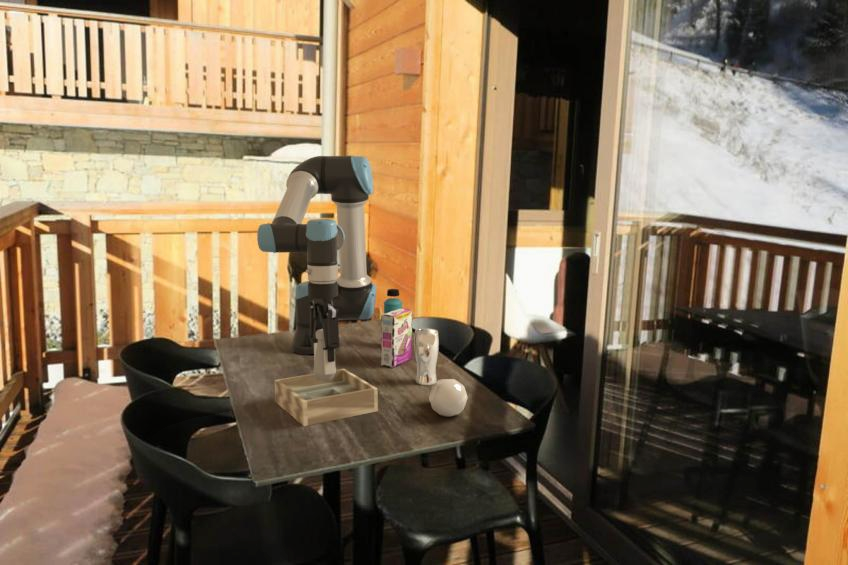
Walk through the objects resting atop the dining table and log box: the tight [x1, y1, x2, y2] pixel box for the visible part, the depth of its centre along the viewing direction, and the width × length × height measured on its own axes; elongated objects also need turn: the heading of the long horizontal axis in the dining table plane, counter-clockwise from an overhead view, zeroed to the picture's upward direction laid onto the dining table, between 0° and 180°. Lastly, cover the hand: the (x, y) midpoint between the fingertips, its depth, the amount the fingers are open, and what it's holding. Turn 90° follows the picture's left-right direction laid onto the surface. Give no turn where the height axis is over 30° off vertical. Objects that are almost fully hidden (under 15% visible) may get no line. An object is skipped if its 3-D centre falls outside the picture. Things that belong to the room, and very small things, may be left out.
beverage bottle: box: [383, 288, 403, 314], centre depth 239 cm, size 6×7×20 cm
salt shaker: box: [312, 329, 337, 381], centre depth 181 cm, size 6×6×13 cm
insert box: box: [274, 368, 379, 427], centre depth 183 cm, size 20×20×6 cm
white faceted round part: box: [428, 378, 468, 417], centre depth 180 cm, size 9×10×15 cm
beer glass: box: [413, 327, 440, 386], centre depth 203 cm, size 7×7×15 cm
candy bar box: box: [380, 308, 413, 369], centre depth 221 cm, size 11×5×16 cm, turn 150°
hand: (324, 370), depth 182 cm, fingers closed on salt shaker, 6 cm apart
